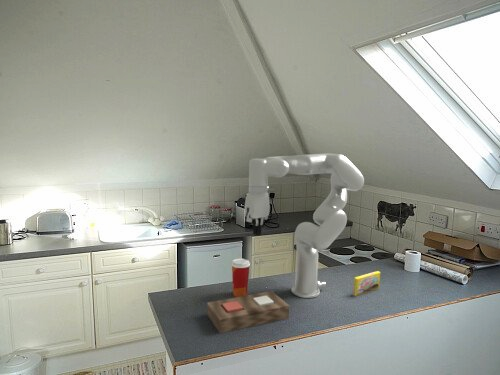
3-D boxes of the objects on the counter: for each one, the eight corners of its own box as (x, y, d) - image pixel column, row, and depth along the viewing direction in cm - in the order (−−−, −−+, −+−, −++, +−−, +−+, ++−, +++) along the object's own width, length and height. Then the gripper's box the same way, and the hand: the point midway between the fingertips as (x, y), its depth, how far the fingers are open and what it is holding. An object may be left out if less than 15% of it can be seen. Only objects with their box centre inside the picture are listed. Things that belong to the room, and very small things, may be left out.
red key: (236, 308, 140) (236, 300, 139) (242, 315, 134) (243, 307, 134) (221, 311, 137) (222, 303, 137) (227, 318, 132) (227, 310, 131)
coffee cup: (239, 288, 164) (239, 256, 162) (253, 294, 159) (254, 261, 156) (226, 294, 157) (226, 261, 155) (240, 300, 152) (241, 266, 150)
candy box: (356, 296, 159) (357, 278, 157) (352, 295, 160) (353, 277, 159) (379, 289, 168) (380, 271, 166) (375, 287, 169) (377, 270, 168)
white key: (266, 302, 145) (266, 295, 145) (273, 309, 140) (273, 301, 139) (252, 305, 143) (253, 298, 142) (259, 312, 137) (259, 304, 137)
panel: (271, 302, 151) (271, 291, 150) (288, 317, 139) (289, 305, 138) (207, 315, 139) (207, 302, 138) (219, 333, 127) (220, 319, 126)
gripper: (265, 187, 152) (264, 229, 155) (237, 190, 142) (236, 235, 145) (278, 189, 146) (276, 233, 149) (249, 192, 137) (248, 239, 139)
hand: (257, 234), depth 147 cm, fingers closed
